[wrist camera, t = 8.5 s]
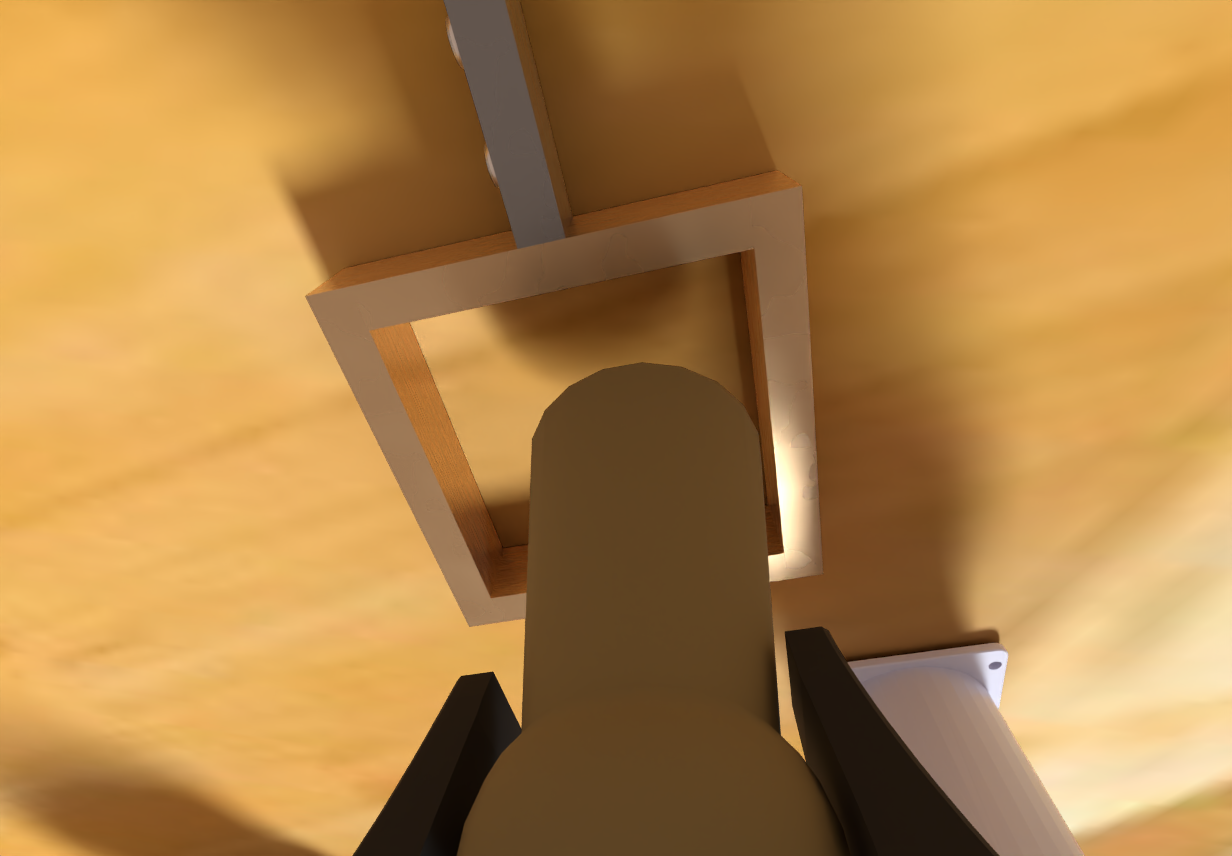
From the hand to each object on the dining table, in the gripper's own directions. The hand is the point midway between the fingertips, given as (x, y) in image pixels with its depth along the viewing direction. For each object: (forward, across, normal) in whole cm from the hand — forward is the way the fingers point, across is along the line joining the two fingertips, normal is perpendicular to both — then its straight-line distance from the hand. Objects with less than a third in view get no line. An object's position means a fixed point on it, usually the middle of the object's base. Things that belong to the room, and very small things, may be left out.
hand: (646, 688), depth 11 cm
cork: (+6, 0, 0) cm, 6 cm away
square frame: (+10, +1, 0) cm, 10 cm away
